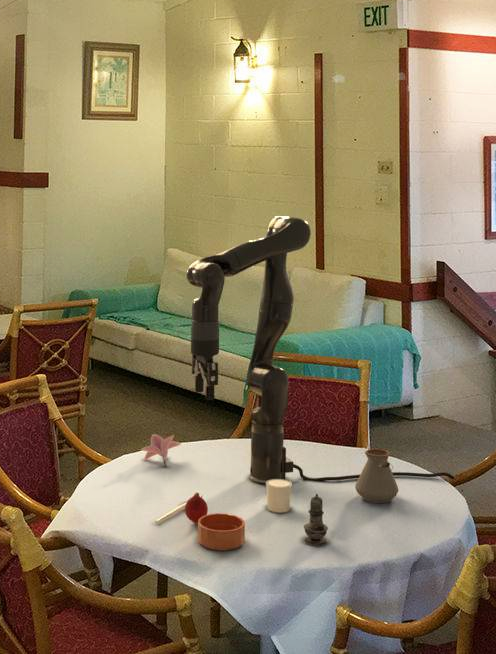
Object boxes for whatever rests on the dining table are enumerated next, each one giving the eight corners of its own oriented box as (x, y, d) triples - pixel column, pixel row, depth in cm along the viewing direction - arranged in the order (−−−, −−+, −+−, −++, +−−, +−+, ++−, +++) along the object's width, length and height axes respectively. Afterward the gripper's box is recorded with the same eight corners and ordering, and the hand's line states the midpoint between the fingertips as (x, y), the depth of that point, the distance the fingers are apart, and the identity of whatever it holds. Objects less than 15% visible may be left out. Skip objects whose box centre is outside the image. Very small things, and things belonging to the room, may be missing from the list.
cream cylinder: (274, 515, 249) (275, 489, 248) (260, 506, 255) (260, 480, 254) (296, 510, 252) (297, 485, 251) (281, 502, 258) (282, 477, 257)
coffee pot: (351, 490, 267) (353, 437, 265) (393, 491, 267) (395, 438, 265) (364, 519, 246) (366, 463, 244) (409, 520, 246) (412, 464, 244)
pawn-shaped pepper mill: (309, 534, 237) (311, 487, 235) (331, 540, 233) (333, 492, 232) (298, 542, 232) (300, 494, 230) (321, 548, 229) (322, 499, 227)
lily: (187, 463, 292) (179, 432, 295) (181, 460, 281) (172, 428, 284) (149, 474, 293) (141, 443, 296) (142, 471, 282) (134, 439, 285)
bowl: (234, 530, 239) (234, 511, 238) (251, 548, 228) (252, 528, 228) (191, 535, 236) (191, 515, 235) (207, 554, 225) (207, 533, 224)
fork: (150, 522, 244) (151, 515, 243) (194, 499, 260) (194, 492, 260) (161, 525, 242) (161, 518, 241) (204, 502, 258) (204, 495, 258)
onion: (205, 528, 240) (206, 497, 239) (182, 526, 241) (183, 496, 240) (209, 520, 246) (209, 489, 245) (186, 518, 247) (187, 488, 246)
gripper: (227, 340, 251) (227, 401, 253) (209, 330, 264) (208, 388, 266) (200, 342, 249) (200, 403, 251) (183, 332, 262) (182, 390, 264)
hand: (204, 395), depth 259 cm, fingers open, 8 cm apart
